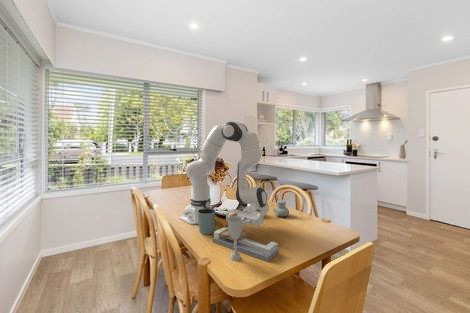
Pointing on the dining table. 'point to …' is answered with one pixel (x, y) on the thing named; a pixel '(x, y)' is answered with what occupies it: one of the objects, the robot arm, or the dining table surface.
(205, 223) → the teal cup
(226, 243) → the rail board
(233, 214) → the carriage
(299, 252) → the dining table surface
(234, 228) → the chalice
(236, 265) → the dining table surface
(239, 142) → the robot arm
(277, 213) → the grey rounded piece
